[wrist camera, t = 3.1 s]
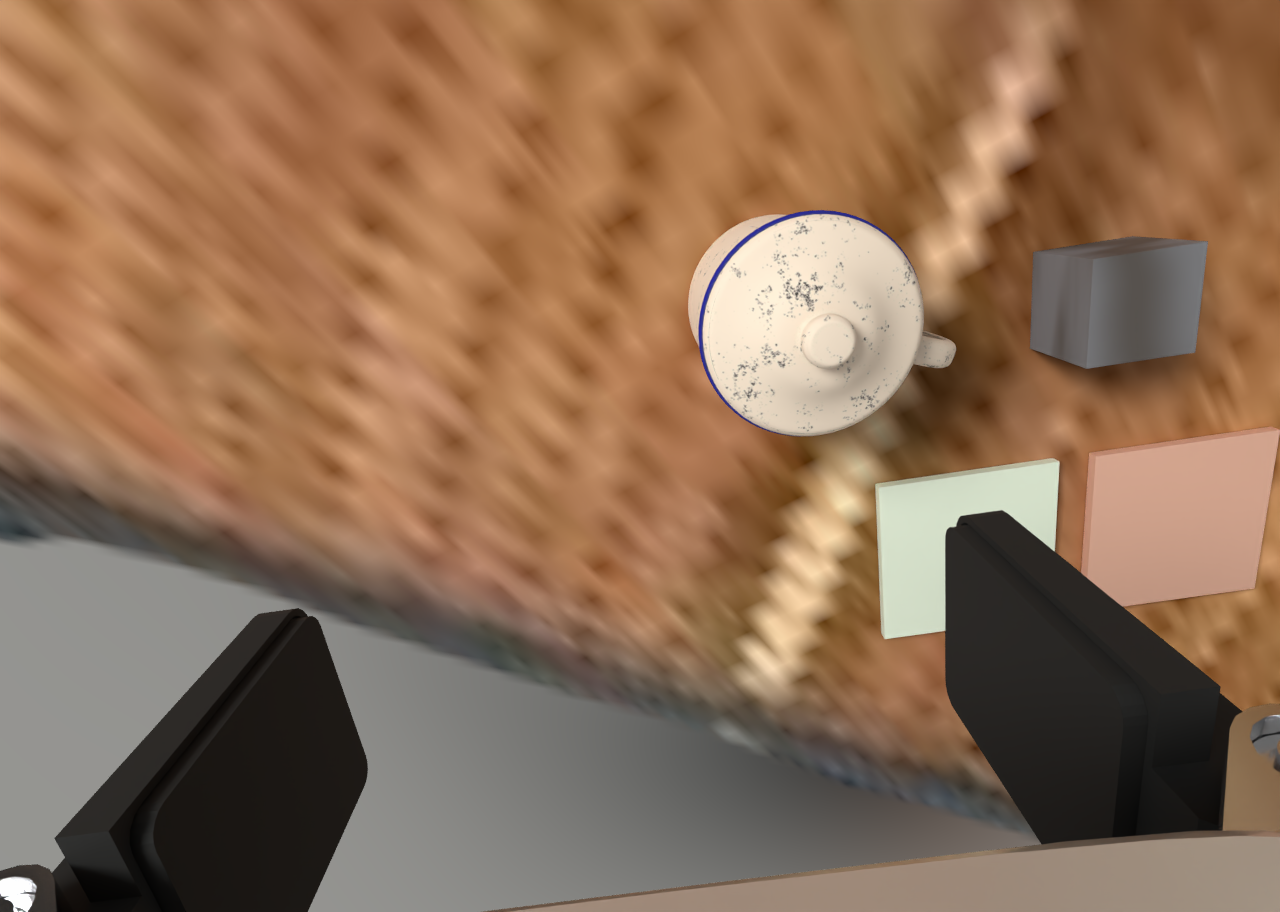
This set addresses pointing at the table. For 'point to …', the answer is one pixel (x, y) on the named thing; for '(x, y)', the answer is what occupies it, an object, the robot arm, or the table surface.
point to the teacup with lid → (809, 321)
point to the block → (1117, 300)
